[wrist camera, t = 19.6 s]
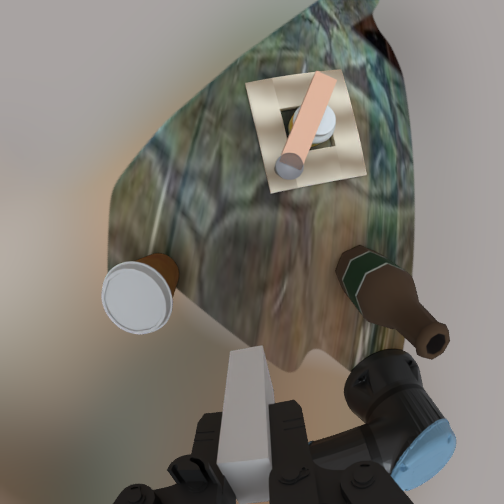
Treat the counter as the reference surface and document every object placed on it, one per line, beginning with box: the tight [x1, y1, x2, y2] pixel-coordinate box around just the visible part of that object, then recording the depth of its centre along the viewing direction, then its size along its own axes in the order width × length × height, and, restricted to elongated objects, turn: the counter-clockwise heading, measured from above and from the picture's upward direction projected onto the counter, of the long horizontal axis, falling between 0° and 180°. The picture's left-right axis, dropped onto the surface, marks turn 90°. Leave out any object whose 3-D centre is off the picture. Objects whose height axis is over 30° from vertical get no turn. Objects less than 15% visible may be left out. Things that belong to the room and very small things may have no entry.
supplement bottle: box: [288, 105, 336, 147], centre depth 37 cm, size 5×5×10 cm
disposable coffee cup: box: [102, 253, 179, 334], centre depth 41 cm, size 10×10×12 cm
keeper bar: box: [275, 71, 337, 180], centre depth 30 cm, size 12×3×2 cm, turn 158°
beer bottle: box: [336, 245, 450, 359], centre depth 34 cm, size 8×8×24 cm
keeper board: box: [245, 69, 367, 193], centre depth 36 cm, size 16×14×10 cm
